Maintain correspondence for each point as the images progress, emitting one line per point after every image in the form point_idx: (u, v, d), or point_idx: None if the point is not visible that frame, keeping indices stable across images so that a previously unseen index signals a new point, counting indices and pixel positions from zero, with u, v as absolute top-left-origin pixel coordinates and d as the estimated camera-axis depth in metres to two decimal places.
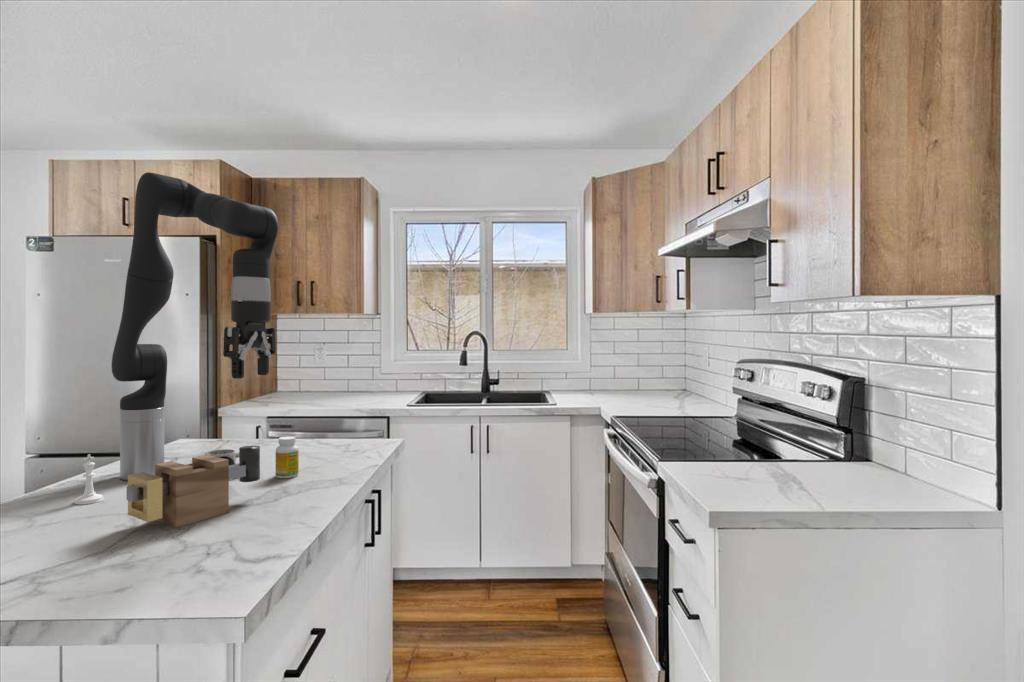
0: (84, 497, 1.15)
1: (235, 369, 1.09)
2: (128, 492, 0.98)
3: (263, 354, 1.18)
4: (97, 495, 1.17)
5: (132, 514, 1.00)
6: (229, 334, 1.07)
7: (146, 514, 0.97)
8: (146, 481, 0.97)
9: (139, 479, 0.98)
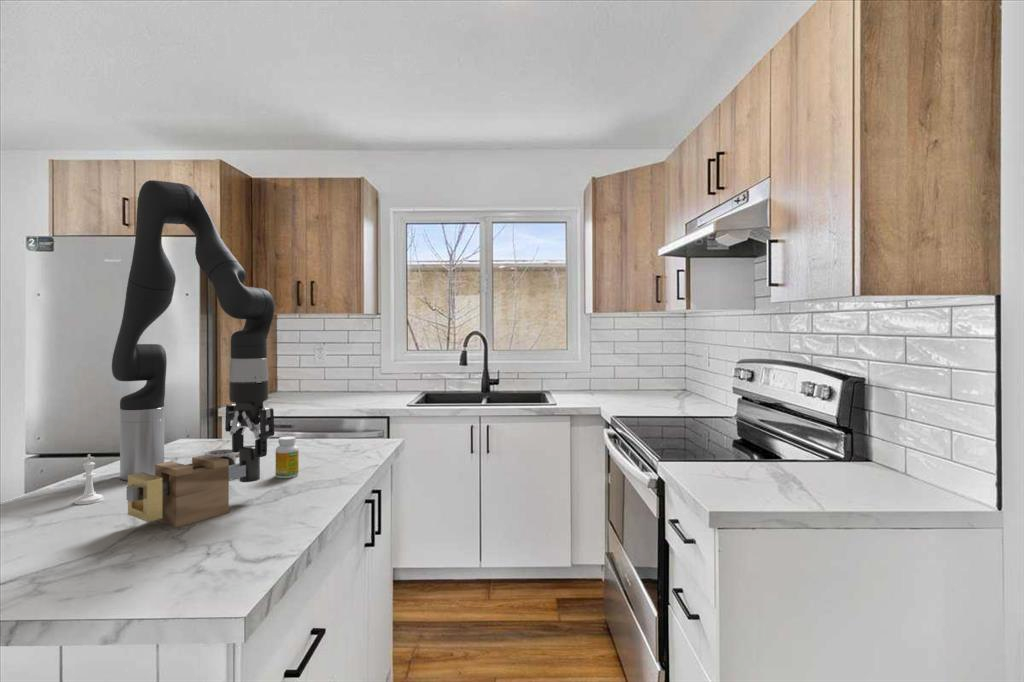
0: (84, 497, 1.15)
1: (264, 448, 1.14)
2: (128, 492, 0.98)
3: (238, 431, 1.19)
4: (97, 495, 1.17)
5: (132, 514, 1.00)
6: (268, 415, 1.13)
7: (146, 514, 0.97)
8: (146, 481, 0.97)
9: (139, 479, 0.98)
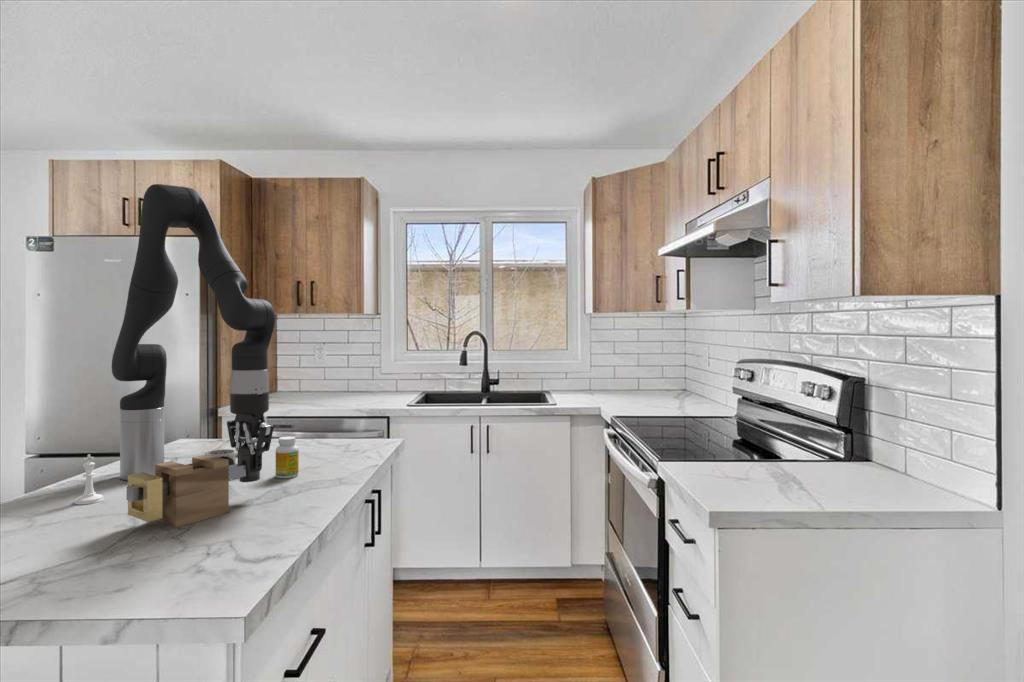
0: (84, 497, 1.15)
1: (259, 462, 1.16)
2: (128, 492, 0.98)
3: None
4: (97, 495, 1.17)
5: (132, 514, 1.00)
6: (267, 433, 1.14)
7: (146, 514, 0.97)
8: (146, 481, 0.97)
9: (139, 479, 0.98)
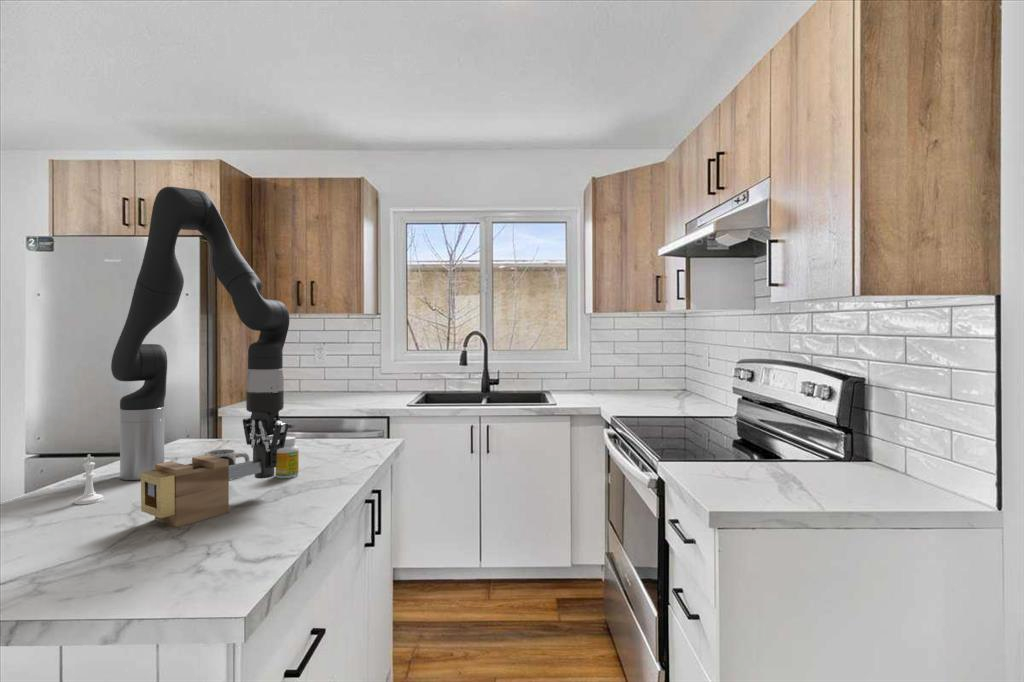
0: (84, 497, 1.15)
1: (274, 459, 1.19)
2: (149, 487, 1.01)
3: None
4: (97, 495, 1.17)
5: (145, 511, 1.02)
6: (282, 431, 1.17)
7: (159, 511, 0.99)
8: (159, 478, 0.99)
9: (152, 476, 1.00)
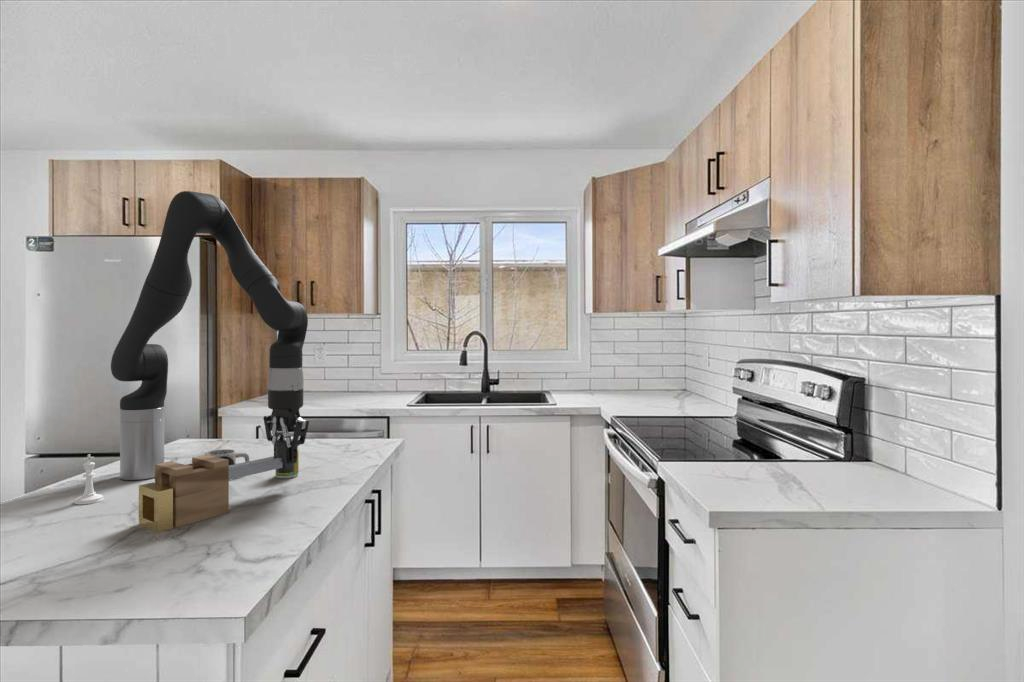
0: (84, 497, 1.15)
1: (295, 455, 1.23)
2: None
3: None
4: (97, 495, 1.17)
5: (143, 524, 1.01)
6: (303, 427, 1.21)
7: (157, 524, 0.99)
8: (157, 492, 0.99)
9: (150, 490, 1.00)
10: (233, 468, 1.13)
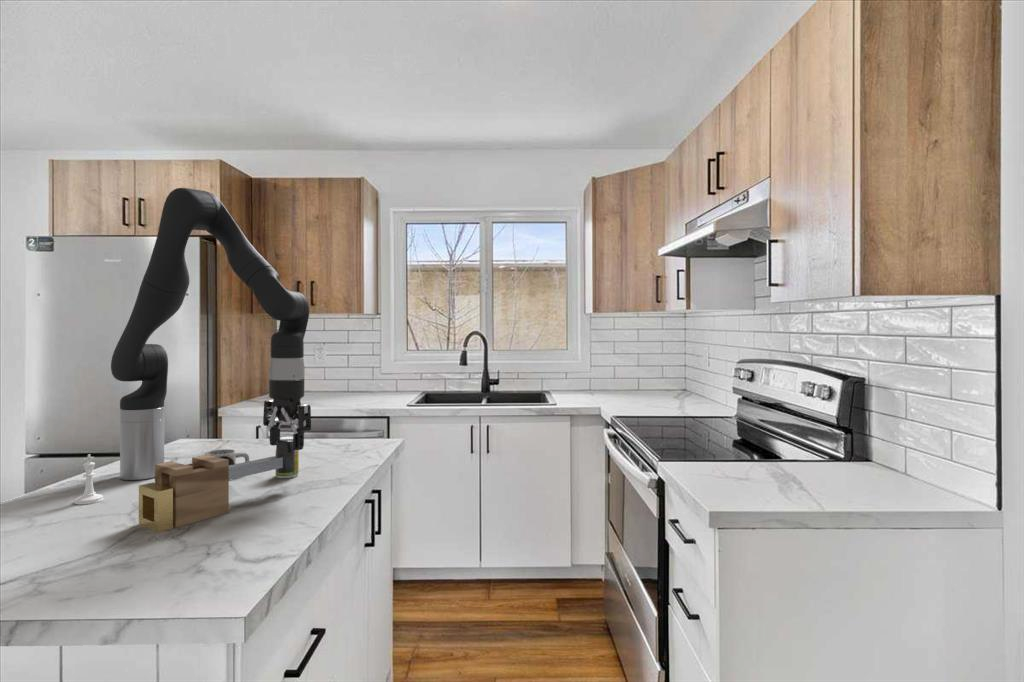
0: (84, 497, 1.15)
1: (301, 442, 1.22)
2: None
3: (276, 425, 1.27)
4: (97, 495, 1.17)
5: (143, 524, 1.01)
6: (305, 411, 1.21)
7: (157, 524, 0.99)
8: (157, 492, 0.99)
9: (150, 490, 1.00)
10: (233, 468, 1.13)
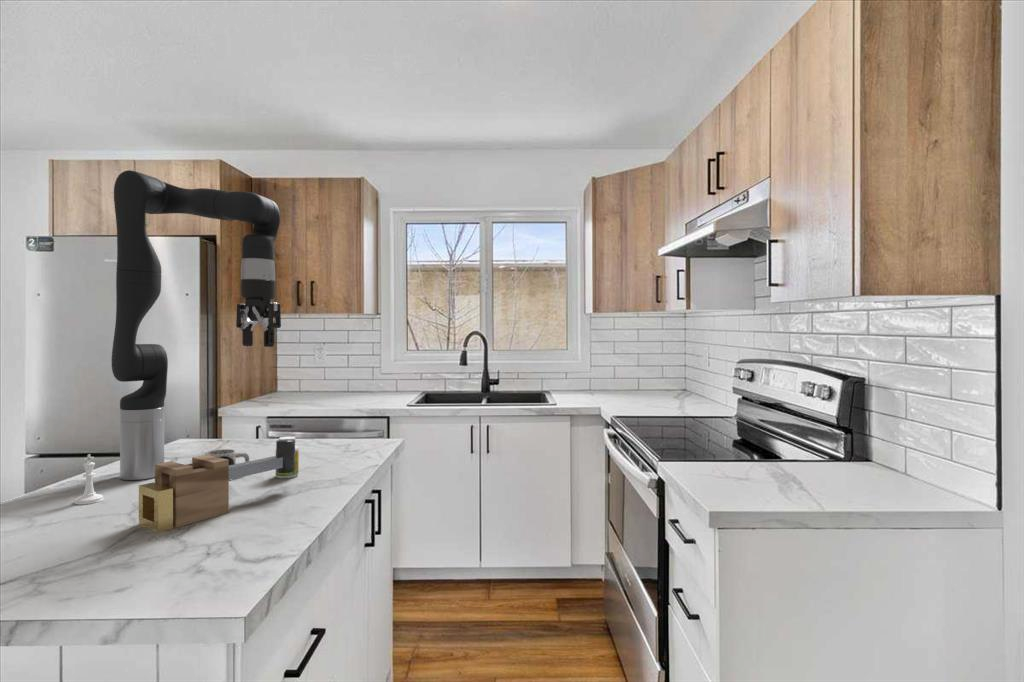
0: (84, 497, 1.15)
1: (271, 338, 1.28)
2: None
3: (248, 327, 1.33)
4: (97, 495, 1.17)
5: (143, 524, 1.01)
6: (275, 309, 1.27)
7: (157, 524, 0.99)
8: (157, 492, 0.99)
9: (150, 490, 1.00)
10: (233, 468, 1.13)
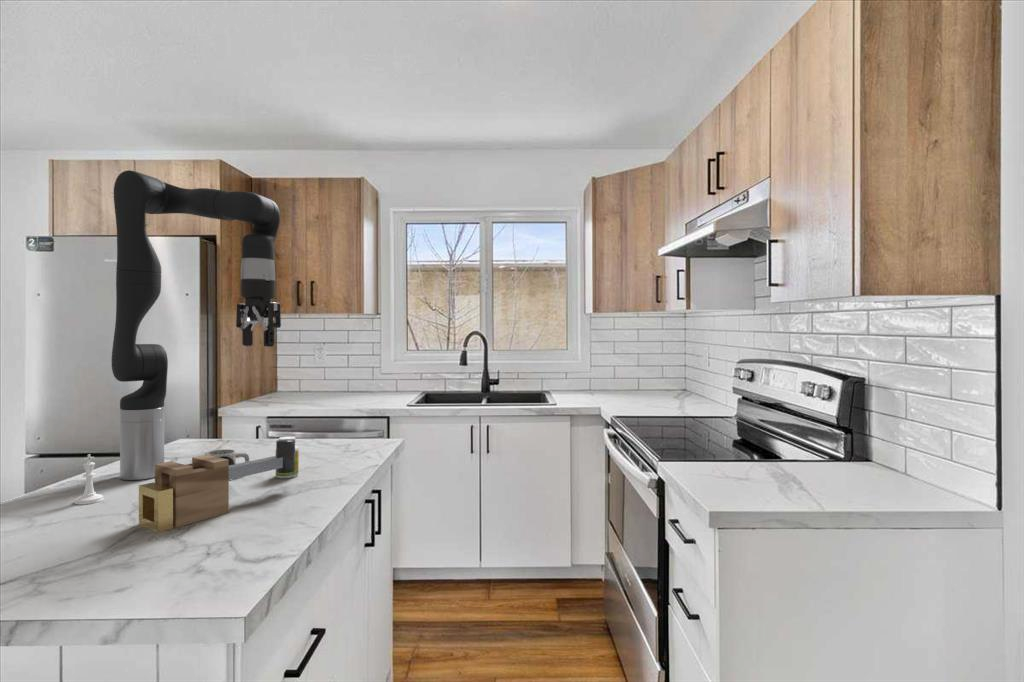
0: (84, 497, 1.15)
1: (271, 338, 1.28)
2: None
3: (248, 327, 1.33)
4: (97, 495, 1.17)
5: (143, 524, 1.01)
6: (275, 308, 1.27)
7: (157, 524, 0.99)
8: (157, 492, 0.99)
9: (150, 490, 1.00)
10: (233, 468, 1.13)
